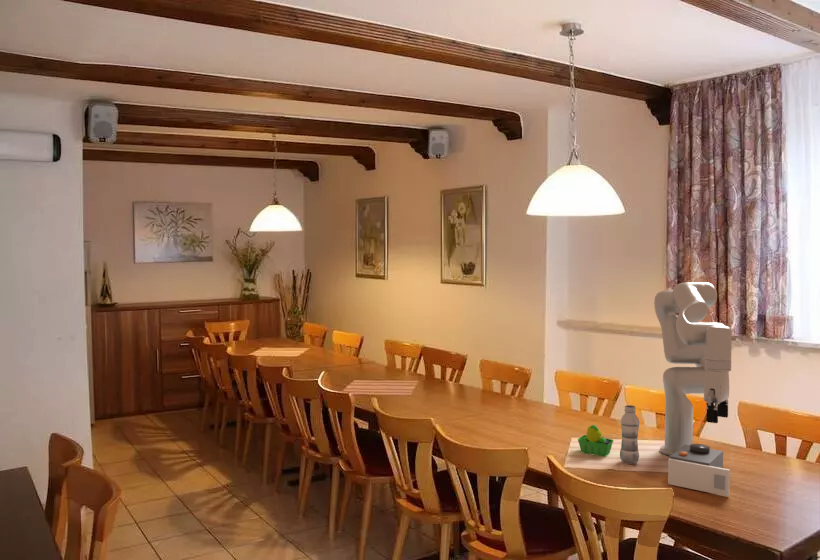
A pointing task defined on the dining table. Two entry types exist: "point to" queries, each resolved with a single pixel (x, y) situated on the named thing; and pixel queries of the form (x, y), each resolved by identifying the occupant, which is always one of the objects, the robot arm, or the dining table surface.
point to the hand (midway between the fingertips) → (717, 419)
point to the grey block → (699, 455)
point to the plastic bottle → (629, 436)
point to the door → (699, 477)
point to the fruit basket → (595, 442)
